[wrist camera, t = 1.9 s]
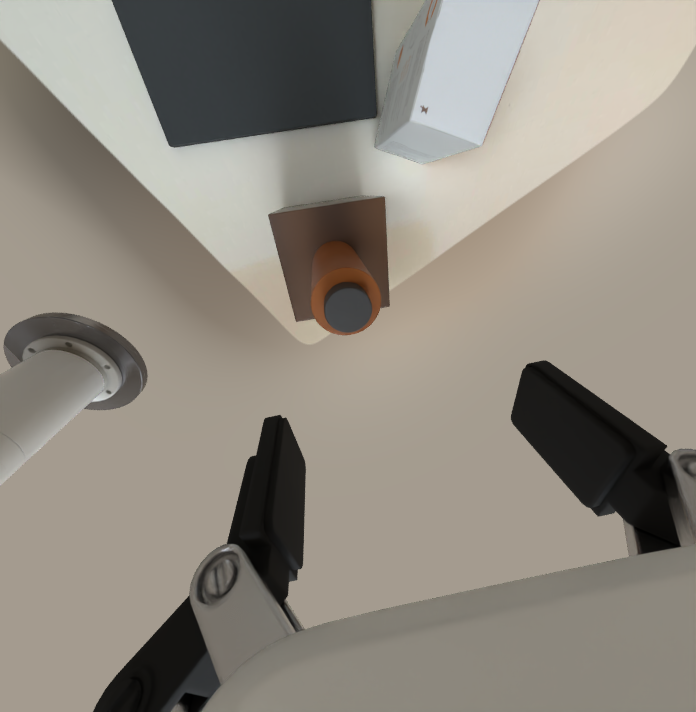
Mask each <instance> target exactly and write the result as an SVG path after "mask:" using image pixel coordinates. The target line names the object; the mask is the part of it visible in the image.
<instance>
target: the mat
mask: <svg viewBox="0 0 696 712" xmlns="http://www.w3.org/2000/svg"><path fill="white" fill-rule="evenodd" d="M112 2H113V5H114V7H115V10H116V12H117V15H118V17H119V20H120V22H121V25H122V27H123V30H124V32H125V35H126V38H127V40H128V43H129V45H130V48H131V50H132V53H133V55H134V58H135V60H136V63H137V65H138V68H139V70H140V73H141V75H142V78H143V81H144V83H145V86H146V88H147V91H148V93H149V96H150V98H151V101H152V103H153V106H154V108H155V111H156V113H157V116H158V118H159V121H160V123H161V126H162V129H163V131H164V134H165V136H166V139H167V141H168V144H169V146H171V147H180V146H187V145H194V144H201V143H207V142H214V141H221V140H228V139H234V138H241V137H248V136H255V135H261V134H268V133H275V132H282V131H288V130H295V129H302V128H309V127H316V126H322V125H329V124H336V123H343V122H349V121H356V120H363V119H370V118H375V117H376V116H377V110H376V90H375V70H374V50H373V30H372V10H371V0H112Z"/></svg>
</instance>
